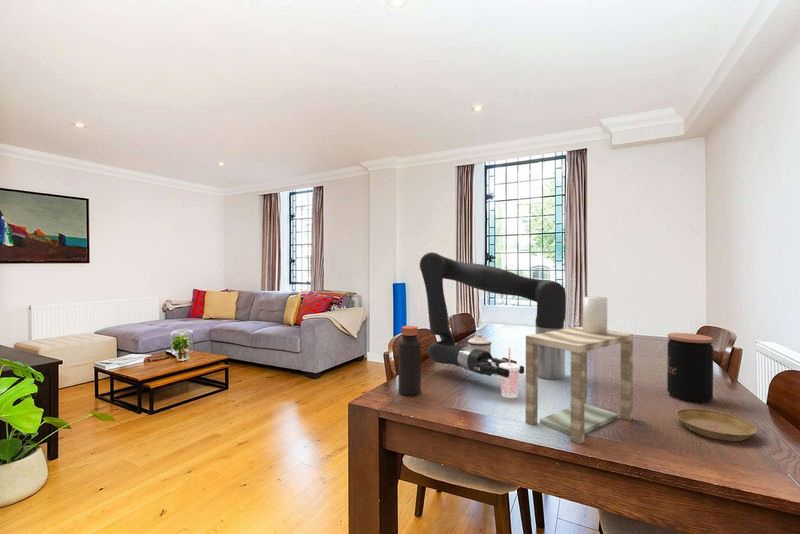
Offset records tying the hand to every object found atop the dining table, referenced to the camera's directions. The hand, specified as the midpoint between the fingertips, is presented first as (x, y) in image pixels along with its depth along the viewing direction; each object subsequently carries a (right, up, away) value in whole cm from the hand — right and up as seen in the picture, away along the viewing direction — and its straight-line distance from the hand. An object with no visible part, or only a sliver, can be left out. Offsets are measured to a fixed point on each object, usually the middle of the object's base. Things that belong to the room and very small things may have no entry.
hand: (515, 372), depth 111 cm
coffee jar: (+51, -8, 0) cm, 51 cm away
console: (+11, -8, -16) cm, 21 cm away
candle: (+17, +14, -13) cm, 25 cm away
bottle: (-31, -8, +5) cm, 32 cm away
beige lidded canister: (-3, -7, +38) cm, 39 cm away
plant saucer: (+40, -8, -22) cm, 46 cm away
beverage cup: (-1, -8, +2) cm, 8 cm away
